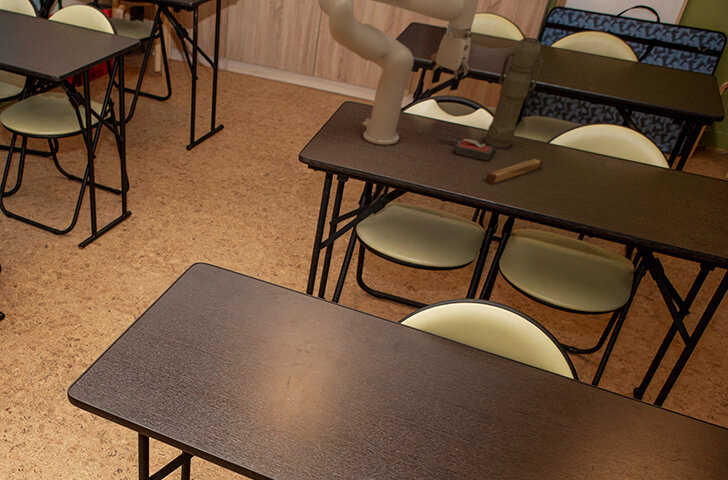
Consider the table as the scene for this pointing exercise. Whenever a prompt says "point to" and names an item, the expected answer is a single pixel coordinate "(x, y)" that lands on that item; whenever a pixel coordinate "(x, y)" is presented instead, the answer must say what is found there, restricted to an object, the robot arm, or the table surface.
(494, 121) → the thermos
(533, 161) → the bar
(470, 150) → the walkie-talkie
